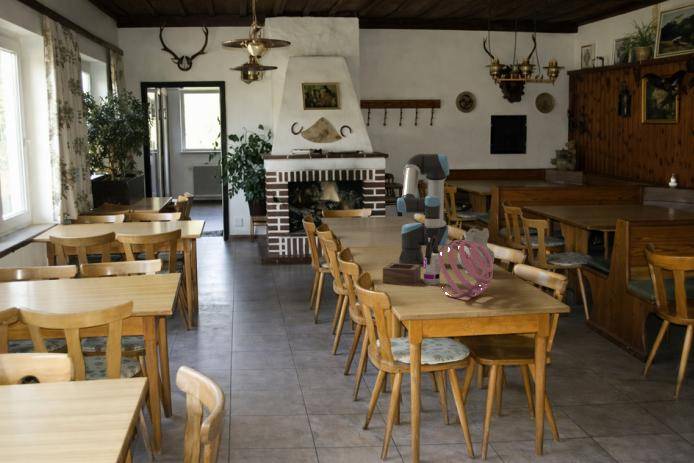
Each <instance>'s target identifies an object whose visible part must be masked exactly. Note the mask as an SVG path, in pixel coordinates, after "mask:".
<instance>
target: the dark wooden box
mask: <svg viewBox="0 0 694 463" xmlns="http://www.w3.org/2000/svg"><path fill="white" fill-rule="evenodd" d="M421 269H422V265H419V264H401V263H398V262H390V263H389V264H387V265H386V266H384V267H383V268H382V284H393V285H394V284H395V285H396V284H397V285H410V286H413V285H415V284H416V283H418V282H419V281H420V280H421V279H422V278H421V277H422V276H421V271H422V270H421Z"/></svg>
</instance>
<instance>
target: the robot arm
mask: <svg viewBox="0 0 694 463" xmlns="http://www.w3.org/2000/svg"><path fill="white" fill-rule="evenodd" d="M449 166H450V164H449V158H448V156H447V154H444V153H443V154H442V153H418V154H415V155H413V156H411V157H410V158H408V160H407V161H406V162H405V163H404V166H403V168H402V174H403V185H402V195H401V197H398V198H397V200H396V209H397V212H398V213H405V214H406V213H409V214H410V213H419V214H424V220H423V222H424V224H423V223H422V222H410V223H407V224H403V225H402V227H401V232H400V234H401V251H400V254H399V257H398V260H397V261H398V262H397V263H401V264H419V265H421V266H422V265H423V266H424V258H426V271H432V258H431V255H432V253H436V254H439V252H440V249H439V247H443V246H444V245H446V244H447V241H448V235H449V225H447V222H446V221H445V220H444V208H445V207H444V205H445V204H444V202H445V201H444V197H445V194H444V191H445V186H444V185H445V181H446V179H447V177H448V176H449V175H450V167H449ZM420 176H425V180H427V182H428V184H427V186H428V187H427V188H428V190H427V191H428V194H427V195H426V196H425V197H417V194H418V184H419V177H420ZM423 246H424V247H425V253H423V251H422V250H423Z"/></svg>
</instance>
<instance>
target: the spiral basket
mask: <svg viewBox="0 0 694 463" xmlns="http://www.w3.org/2000/svg"><path fill="white" fill-rule="evenodd" d="M467 242H470V243H472V245H470V244H469V243H467ZM455 243H459V244H458V245H456V244H455ZM464 246H466V247H468V248H469V249H470V251H471V255H472V258H473V260H474V261H475V263H476V264H477V266H478V267H479V268H480V269H481V270H482V274H481V275H480V273H479V271H478V269H477V267H476V265H475V263H474V262H473V260H472V259H471V257H470V256H469V255H468V254H467V253H466V252H465V251H464ZM445 248H447V258H448V263H449V265H450V268H451V270H452V272H453V273H454V275H455V276H456V278H457V279H458V281H460V282H461V284H462V285H463V286H464V287H466V288H467V289H466V290H465V289H461V288H460V287H459V286H457V284H456V283H455V282H454V280H453V279H452V277H451V276H450V274H449V272H448V270H447V268H446V265H445V262H444V257H443V256H444V250H445ZM476 248H478V249H479V250H480V251H481V252H482V254H483V255H484V257H485V258H486V260H487V262H488V265H489V267H487V263H486V261H485V263H484V261H483V259H482V257H481V256H480V254H479V253H478V252H477V251H476ZM453 250H454V251H456V252H458V253H459V255H460V258H461V261H462V263H463V265H464V267H465V268H466V269H465V268H464V269H465V271H466V270H467V271H468V273H469V274H468V275H470V276H471V277H472V278H473V279H474V280H475V281H476V282H475V283H474V284H472V283H471V282H469V281H468V280H467V279H466V278H465V277H464V274H462V272H461V271H460V269H459V267H458V265H457V262H456V261H455V256H454V253H453ZM438 254H439V264H440V271H441V272H442V274H443V276H444V279H445V280H446V282H447V283H448V285H450V286H448V285H445V288H446V289H448V290H450V291H453V292H456V293H457V294H458V295H453V294H450V293H448V292H447V291H446V289H445V288H444V287H443V286H442V287H441V289H442V292H443V293H444V294H445V295H446V296H448V297H449V298H453V299H462V298H464V299H465V298H467V299H473V298H476V297H478V296H479V295H480V294H481V293H483V292H485V291H486V290H487V288H488V287H489V285H490V283H491V282H492V278H493V276H494V265H493V264H494V262H493V263H492V260H491V257H490V255H489V253H488V252H487V251H486V250H485V248H483V247H482V246H481V245H479V244H477V243H475V242H473V241H471V240H465V239H456V240H453V241H450V243H446V245H444V246H441V248H440V249H439V253H438ZM489 273H490V274H489ZM474 293H475V294H474ZM471 294H474V295H471Z"/></svg>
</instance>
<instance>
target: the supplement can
mask: <svg viewBox="0 0 694 463" xmlns="http://www.w3.org/2000/svg"><path fill="white" fill-rule="evenodd" d="M431 258H432V271H426V258H424V264H423V282H422V283H423V284H424V285H429V286H436V284H437V285H439V284H440V281H441V280H440V279H441V274H440V273H441V268H440V264H439V253H437V254H436V253H433V252H432V255H431Z"/></svg>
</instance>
